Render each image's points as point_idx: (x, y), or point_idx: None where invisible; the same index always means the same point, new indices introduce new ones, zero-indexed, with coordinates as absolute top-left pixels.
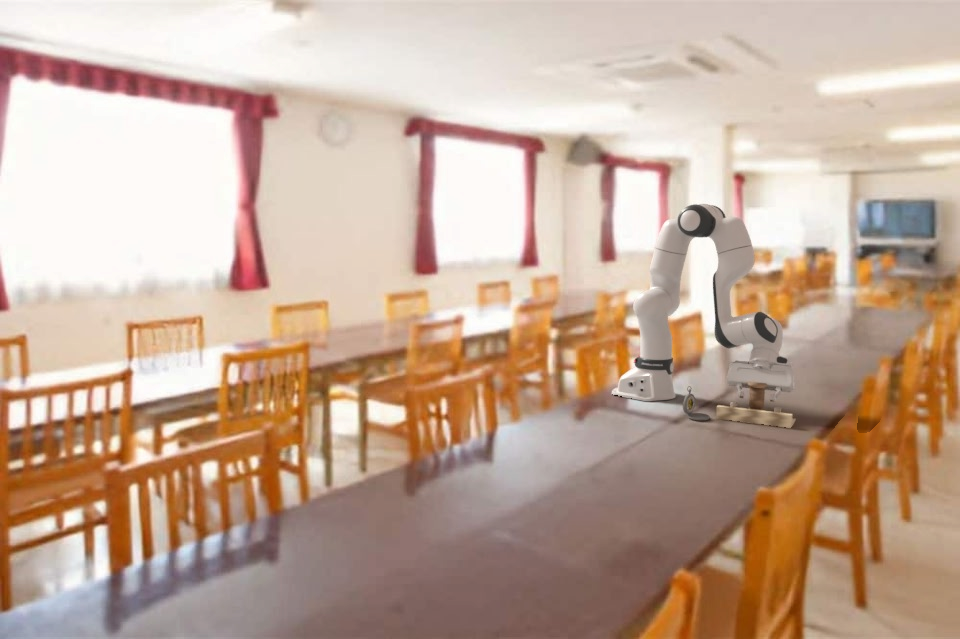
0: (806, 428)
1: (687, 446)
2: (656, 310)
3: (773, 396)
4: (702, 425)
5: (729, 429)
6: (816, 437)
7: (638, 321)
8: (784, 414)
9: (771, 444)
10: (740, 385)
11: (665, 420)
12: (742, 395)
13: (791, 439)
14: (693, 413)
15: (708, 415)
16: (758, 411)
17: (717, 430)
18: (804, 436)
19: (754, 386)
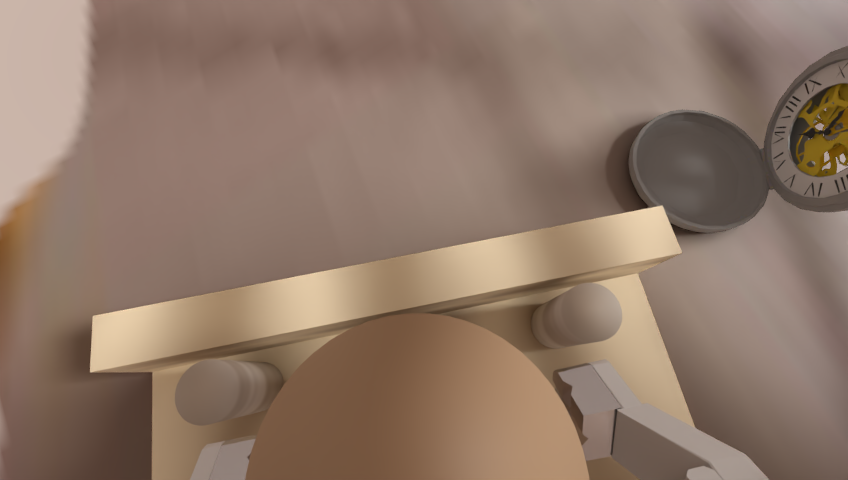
0: (69, 397)
1: None
2: None
3: (213, 468)
4: (592, 75)
5: (450, 93)
6: (6, 235)
7: None
8: (149, 308)
9: (204, 4)
10: (700, 477)
11: (781, 43)
12: (564, 371)
13: (131, 121)
14: (762, 196)
15: (667, 211)
16: (349, 268)
17: (489, 46)
18: (71, 212)
19: (408, 314)
